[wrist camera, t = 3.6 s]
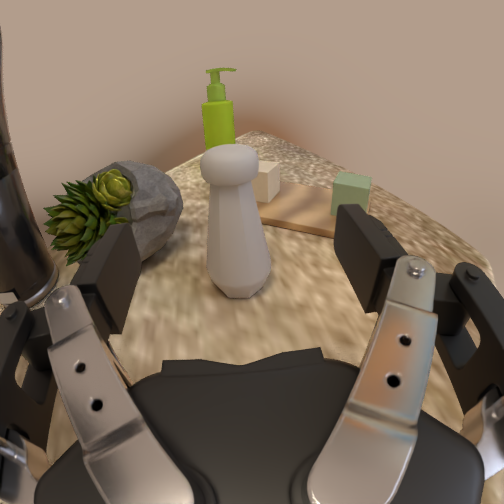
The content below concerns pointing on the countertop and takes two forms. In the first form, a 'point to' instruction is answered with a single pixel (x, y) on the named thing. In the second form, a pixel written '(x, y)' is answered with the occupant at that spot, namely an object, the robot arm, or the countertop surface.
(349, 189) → the sage green cube
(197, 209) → the countertop surface
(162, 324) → the countertop surface
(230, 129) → the soap dispenser
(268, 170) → the beige matte cube
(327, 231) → the wood board
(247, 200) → the salt shaker
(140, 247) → the potted plant
